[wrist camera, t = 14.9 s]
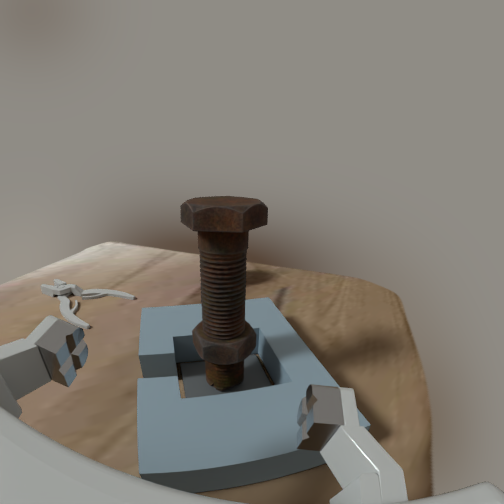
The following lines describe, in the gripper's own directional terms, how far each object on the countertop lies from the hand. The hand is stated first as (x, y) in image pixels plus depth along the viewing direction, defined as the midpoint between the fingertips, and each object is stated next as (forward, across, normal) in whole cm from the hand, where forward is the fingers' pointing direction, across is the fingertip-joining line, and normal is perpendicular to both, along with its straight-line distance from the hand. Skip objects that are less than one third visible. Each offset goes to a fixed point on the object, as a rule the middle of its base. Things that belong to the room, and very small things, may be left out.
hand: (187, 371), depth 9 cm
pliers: (+21, -22, -18) cm, 35 cm away
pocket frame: (+10, +1, -13) cm, 16 cm away
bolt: (+10, +1, -13) cm, 16 cm away
